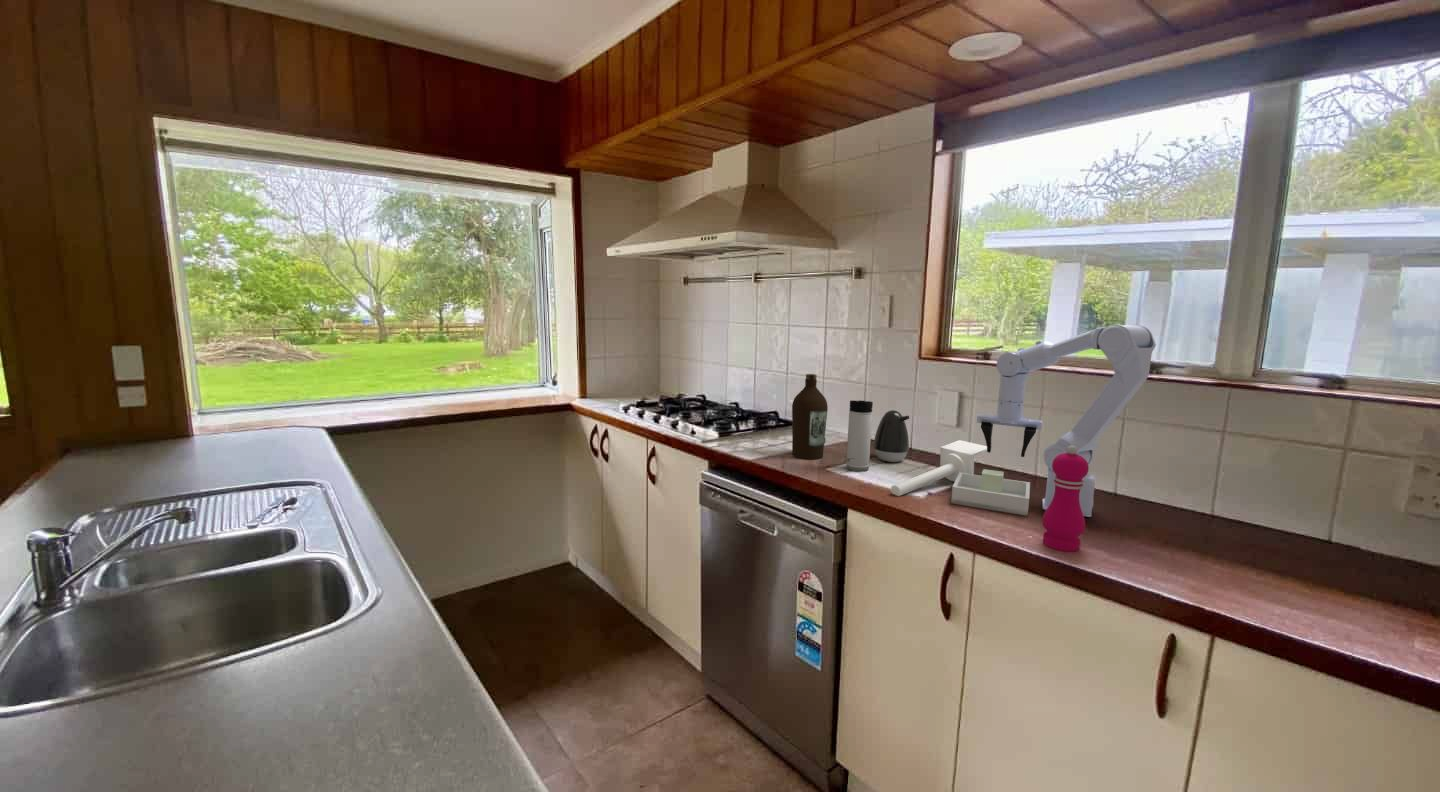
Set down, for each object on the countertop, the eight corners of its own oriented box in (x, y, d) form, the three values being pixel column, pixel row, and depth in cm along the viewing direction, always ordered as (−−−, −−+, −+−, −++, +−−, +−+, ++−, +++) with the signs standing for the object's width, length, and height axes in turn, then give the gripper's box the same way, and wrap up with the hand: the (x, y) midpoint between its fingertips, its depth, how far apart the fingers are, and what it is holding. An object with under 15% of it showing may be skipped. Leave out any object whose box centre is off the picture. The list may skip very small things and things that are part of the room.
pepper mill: (1031, 540, 116) (1042, 442, 113) (1057, 536, 118) (1069, 440, 115) (1064, 555, 109) (1076, 451, 106) (1091, 550, 112) (1104, 448, 108)
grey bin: (1028, 498, 142) (1030, 482, 141) (1027, 515, 130) (1029, 498, 129) (958, 487, 149) (959, 472, 149) (951, 503, 137) (952, 486, 136)
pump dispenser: (895, 466, 168) (899, 414, 165) (865, 458, 175) (868, 409, 173) (915, 461, 174) (919, 411, 172) (885, 454, 182) (889, 406, 179)
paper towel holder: (990, 447, 154) (911, 479, 137) (990, 478, 156) (911, 513, 139) (959, 440, 161) (880, 469, 145) (959, 469, 163) (881, 502, 147)
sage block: (1001, 495, 140) (1003, 471, 139) (1000, 501, 136) (1002, 476, 135) (981, 492, 142) (983, 468, 141) (979, 497, 138) (981, 473, 137)
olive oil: (782, 454, 179) (786, 373, 175) (807, 449, 185) (811, 371, 181) (807, 462, 170) (811, 377, 166) (832, 457, 177) (836, 375, 173)
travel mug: (845, 471, 162) (849, 400, 159) (846, 464, 168) (850, 396, 165) (868, 472, 161) (873, 401, 157) (868, 466, 167) (872, 398, 164)
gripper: (977, 399, 145) (972, 453, 147) (1043, 406, 137) (1037, 461, 140) (980, 396, 151) (976, 447, 153) (1044, 402, 143) (1038, 455, 146)
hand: (1005, 453), depth 147 cm, fingers open, 7 cm apart
